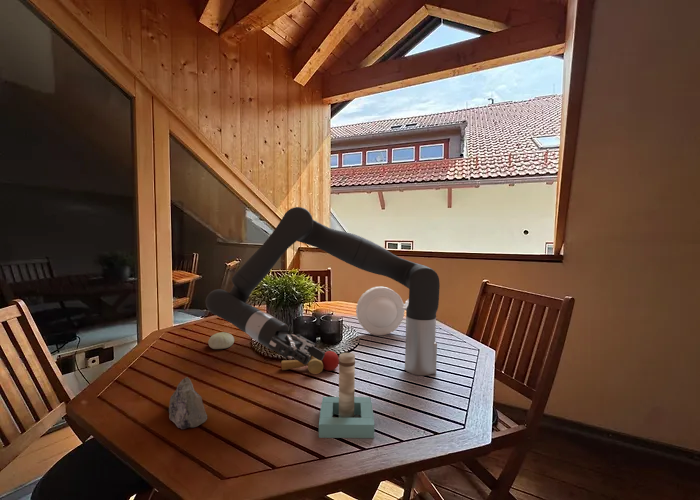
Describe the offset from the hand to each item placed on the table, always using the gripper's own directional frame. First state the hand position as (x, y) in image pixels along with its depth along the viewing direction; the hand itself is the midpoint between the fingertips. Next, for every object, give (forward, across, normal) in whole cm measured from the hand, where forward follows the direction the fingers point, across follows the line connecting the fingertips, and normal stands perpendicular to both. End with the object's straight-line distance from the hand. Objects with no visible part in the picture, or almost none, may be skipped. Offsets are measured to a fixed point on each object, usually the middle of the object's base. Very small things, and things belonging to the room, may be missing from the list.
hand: (316, 358), depth 89 cm
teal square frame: (+14, -1, +9) cm, 16 cm away
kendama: (-8, +22, +11) cm, 26 cm away
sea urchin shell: (-47, +28, +23) cm, 59 cm away
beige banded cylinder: (+14, -1, +9) cm, 16 cm away
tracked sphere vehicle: (+3, +67, -5) cm, 68 cm away
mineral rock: (-20, -12, +24) cm, 33 cm away
